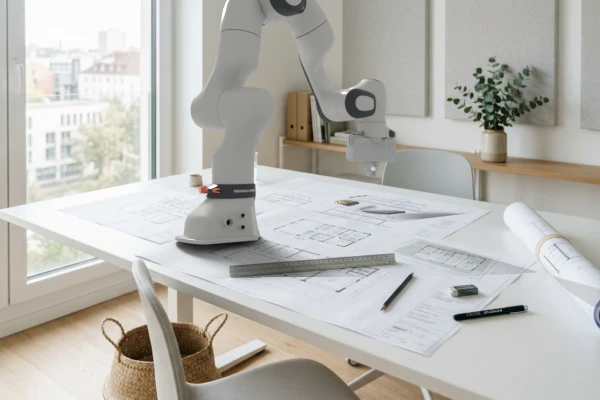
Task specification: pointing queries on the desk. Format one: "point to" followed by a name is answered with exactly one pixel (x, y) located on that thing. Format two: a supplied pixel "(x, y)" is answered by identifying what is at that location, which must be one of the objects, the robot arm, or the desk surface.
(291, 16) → the robot arm
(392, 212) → the felt pad
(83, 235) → the desk surface
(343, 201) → the cuneiform tablet
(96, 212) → the desk surface
